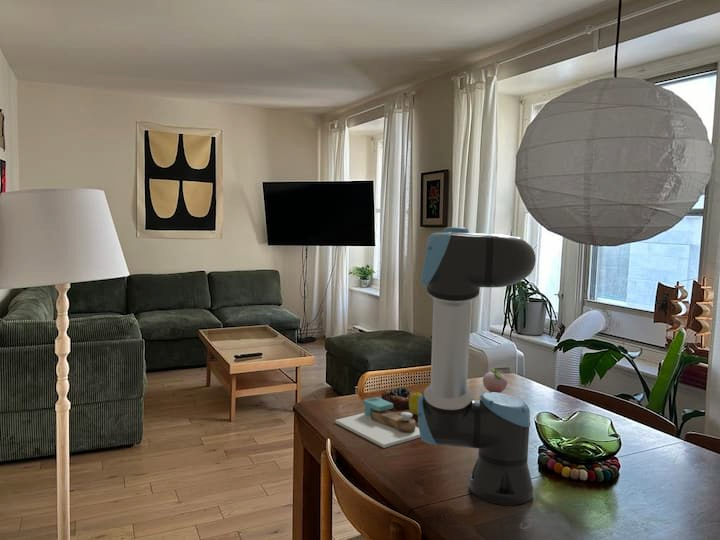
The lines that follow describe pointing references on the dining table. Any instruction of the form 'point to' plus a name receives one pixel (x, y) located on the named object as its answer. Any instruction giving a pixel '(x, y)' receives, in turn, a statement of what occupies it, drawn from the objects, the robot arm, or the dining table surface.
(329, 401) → the dining table surface
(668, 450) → the dining table surface
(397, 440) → the plate
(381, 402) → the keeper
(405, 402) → the pastry
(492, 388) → the decorative fruit
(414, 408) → the lemon
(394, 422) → the walnut link
